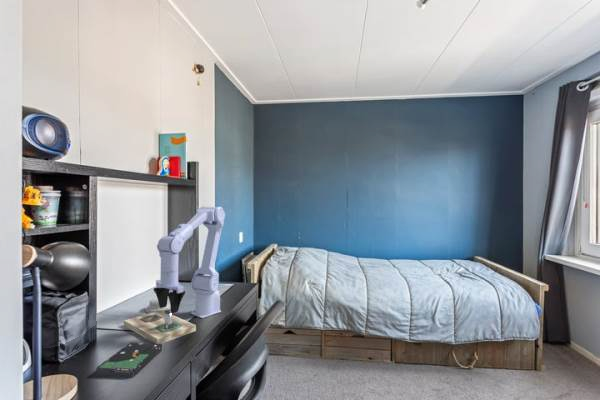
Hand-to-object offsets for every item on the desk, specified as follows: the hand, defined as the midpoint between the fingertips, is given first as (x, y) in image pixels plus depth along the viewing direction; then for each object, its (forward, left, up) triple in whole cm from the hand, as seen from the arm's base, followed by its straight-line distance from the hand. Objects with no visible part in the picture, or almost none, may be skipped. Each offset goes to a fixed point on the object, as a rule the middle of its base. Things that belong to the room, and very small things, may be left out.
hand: (168, 309), depth 106 cm
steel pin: (0, 0, -8) cm, 8 cm away
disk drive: (+17, +10, -9) cm, 22 cm away
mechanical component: (-10, -25, -8) cm, 28 cm away
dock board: (0, -6, -8) cm, 10 cm away
